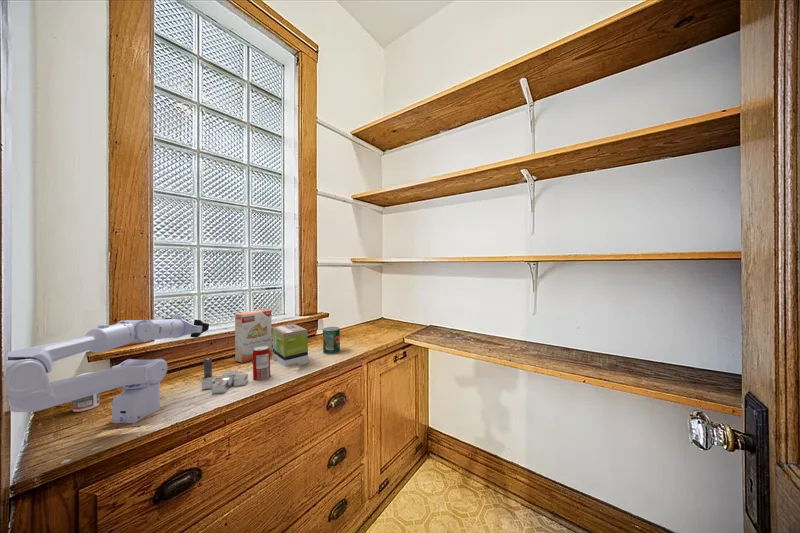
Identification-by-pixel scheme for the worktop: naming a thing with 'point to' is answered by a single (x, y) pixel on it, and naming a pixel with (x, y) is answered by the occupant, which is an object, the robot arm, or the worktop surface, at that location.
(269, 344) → the cracker box
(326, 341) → the canned tomato
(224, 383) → the tabbed chrome dome
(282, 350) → the tea box
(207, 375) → the black pin
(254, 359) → the soda can
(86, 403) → the pill bottle
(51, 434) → the worktop surface
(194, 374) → the worktop surface
